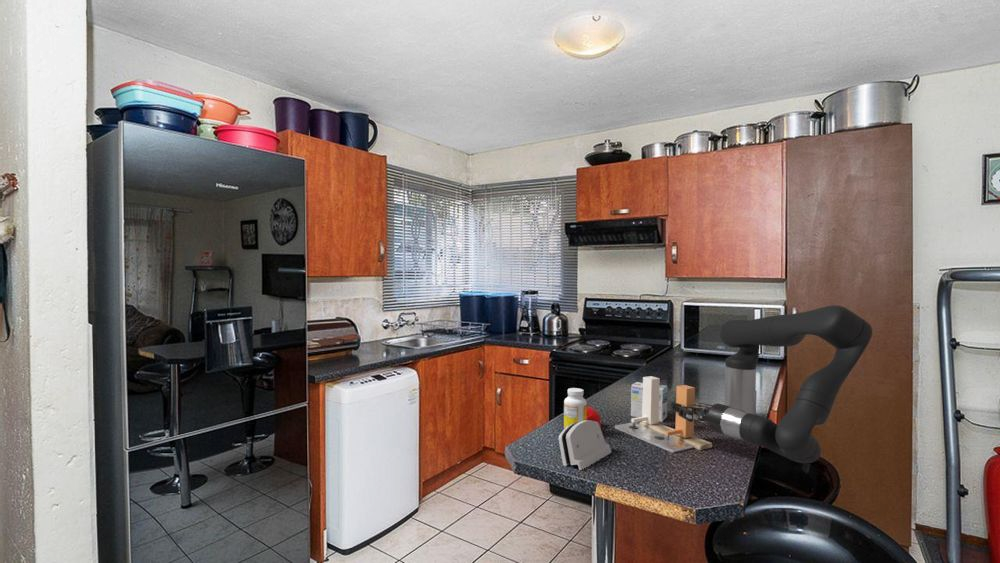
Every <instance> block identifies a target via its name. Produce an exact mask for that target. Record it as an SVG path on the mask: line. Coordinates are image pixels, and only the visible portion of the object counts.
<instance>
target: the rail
mask: <svg viewBox="0 0 1000 563" xmlns="http://www.w3.org/2000/svg"><path fill="white" fill-rule="evenodd" d="M638 424H640V425H642V426H645V427H647V428H650V429H653V430H655V431H658V432H660V433H663V434H665V431H670V430H675V428H672V427H670V426H667V425H664V424H661V423H660V422H658V423H657V424H652V425H650V424H647V423H645V422H642V421H641V422H638ZM670 437H673V438H676V439H678V440H681V441H683V442H686V443H688V444H691V445H693V448H694V449H696V450H698V451H703V450H707V449H711V448H713V443H712V442H710V441H708V440H706V439H702V438H700V437H697V436H692V437H688V438H684V437H681V436H679V435H676V434H675V435H671V436H670ZM693 448H692V449H693Z"/></svg>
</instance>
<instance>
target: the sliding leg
mask: <svg viewBox="0 0 1000 563" xmlns="http://www.w3.org/2000/svg"><path fill="white" fill-rule="evenodd" d="M675 392H676V393H675V394H676V395H675V397H676V398H675V399H676V400H675V403H678V404H681V405H685V406H692V405H693V406H695V403H696V402H695V401H696V398H695V397H696V395H695V394H696V387H694V386H689V385H687V384H681V385H676V391H675ZM693 414H694V409H693ZM674 429H675V430H670V431H665V435H666V440H669V436H671V435H675V434H676V435H679V436H681V437H684V438H688V437H692V436H694V434H695V433H694V432H695V419H693V422H689V421H687V420H686V419H684V418H682V417H680V416H679V412H677V411H675V428H674ZM694 437H695V436H694Z"/></svg>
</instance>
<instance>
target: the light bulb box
mask: <svg viewBox="0 0 1000 563" xmlns="http://www.w3.org/2000/svg"><path fill="white" fill-rule="evenodd" d="M630 390H631V391H630V417H632V418H638V417H642V399H643V382H640V381H636V382H634V383H632V384H631V388H630ZM667 417H668V385H662V384H661V385H660V386H659V423H663V421H665V420H666V419H667Z"/></svg>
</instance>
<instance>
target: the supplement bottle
mask: <svg viewBox="0 0 1000 563" xmlns="http://www.w3.org/2000/svg"><path fill="white" fill-rule="evenodd" d="M584 391H585V390H584V389H582V388H577V387H570V388H568V389H567V397H566V398H564V400H563V430H564V429H565V428H566V427H568V426H569V425H571V424H573V423H576V422H579V421H586V410H587V407H588V406H587V404H588V403H587V400H586V399H585V398H584V397H583V396H584V393H585V392H584Z"/></svg>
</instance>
